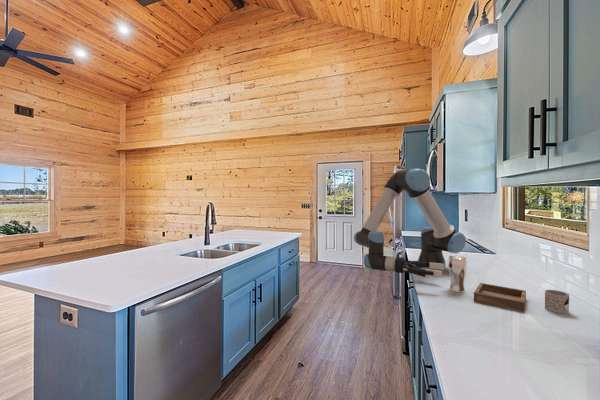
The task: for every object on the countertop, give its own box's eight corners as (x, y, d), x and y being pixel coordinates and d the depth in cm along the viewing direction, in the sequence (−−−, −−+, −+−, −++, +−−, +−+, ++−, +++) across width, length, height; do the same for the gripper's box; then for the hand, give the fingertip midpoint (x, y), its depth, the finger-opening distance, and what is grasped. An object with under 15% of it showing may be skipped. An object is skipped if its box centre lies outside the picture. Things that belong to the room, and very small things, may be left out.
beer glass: (469, 293, 123) (469, 259, 123) (453, 293, 123) (453, 259, 123) (460, 287, 130) (460, 255, 130) (445, 287, 130) (445, 255, 130)
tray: (480, 290, 126) (480, 282, 126) (525, 299, 115) (526, 290, 115) (473, 301, 114) (473, 292, 114) (524, 311, 103) (524, 302, 103)
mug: (570, 316, 100) (570, 297, 100) (545, 311, 104) (545, 293, 104) (566, 306, 108) (566, 289, 108) (543, 302, 112) (543, 286, 112)
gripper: (400, 266, 150) (445, 271, 139) (389, 278, 129) (440, 286, 118) (400, 252, 150) (445, 256, 139) (389, 262, 129) (440, 268, 118)
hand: (443, 270), depth 129 cm, fingers open, 13 cm apart
